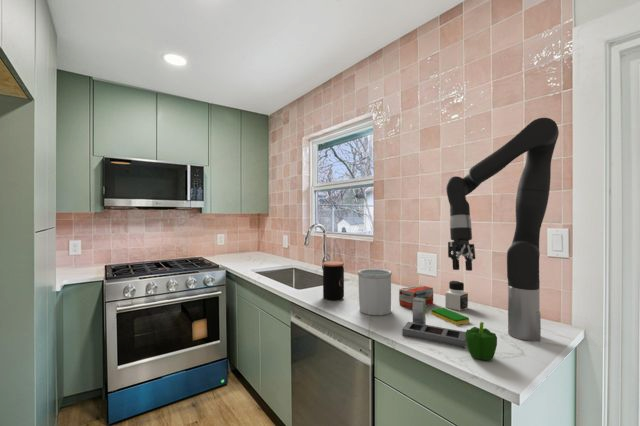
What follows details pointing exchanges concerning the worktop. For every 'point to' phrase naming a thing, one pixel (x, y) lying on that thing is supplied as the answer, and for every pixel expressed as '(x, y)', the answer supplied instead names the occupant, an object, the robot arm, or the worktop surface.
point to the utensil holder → (375, 291)
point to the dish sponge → (450, 316)
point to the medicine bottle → (456, 296)
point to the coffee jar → (333, 280)
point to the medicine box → (415, 295)
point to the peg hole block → (435, 334)
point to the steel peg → (419, 310)
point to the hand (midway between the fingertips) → (462, 270)
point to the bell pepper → (481, 343)
